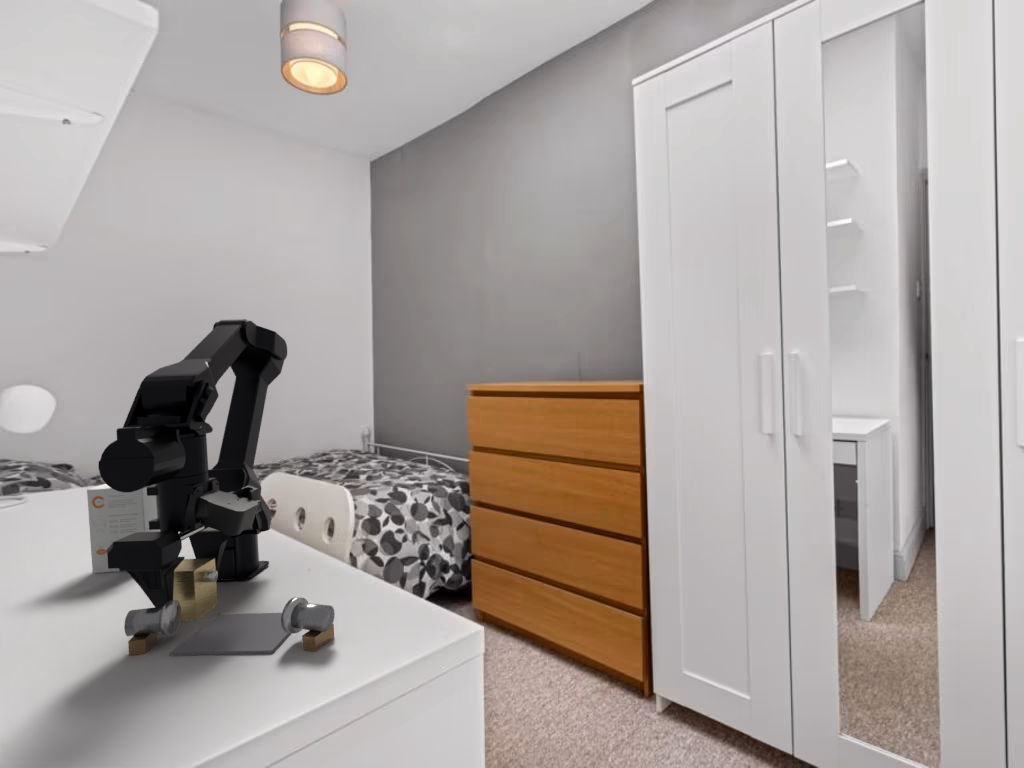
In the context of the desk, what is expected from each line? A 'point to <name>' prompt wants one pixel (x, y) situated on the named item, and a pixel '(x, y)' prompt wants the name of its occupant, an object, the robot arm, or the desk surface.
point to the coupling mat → (236, 635)
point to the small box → (116, 519)
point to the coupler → (195, 587)
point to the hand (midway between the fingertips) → (189, 599)
